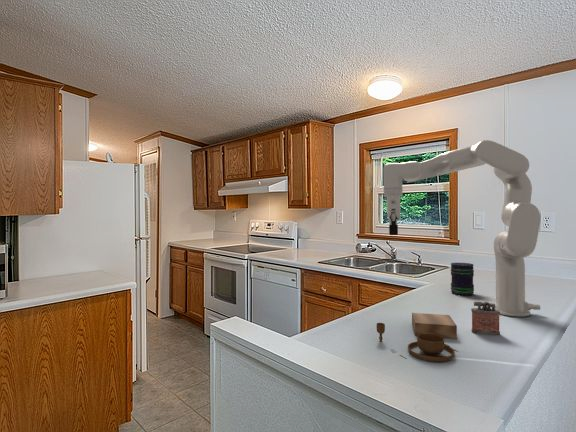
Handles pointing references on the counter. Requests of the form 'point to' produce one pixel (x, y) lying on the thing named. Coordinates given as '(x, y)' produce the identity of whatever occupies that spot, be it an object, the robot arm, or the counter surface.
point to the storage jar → (462, 279)
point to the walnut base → (434, 325)
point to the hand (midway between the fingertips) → (393, 234)
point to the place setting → (425, 346)
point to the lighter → (485, 319)
